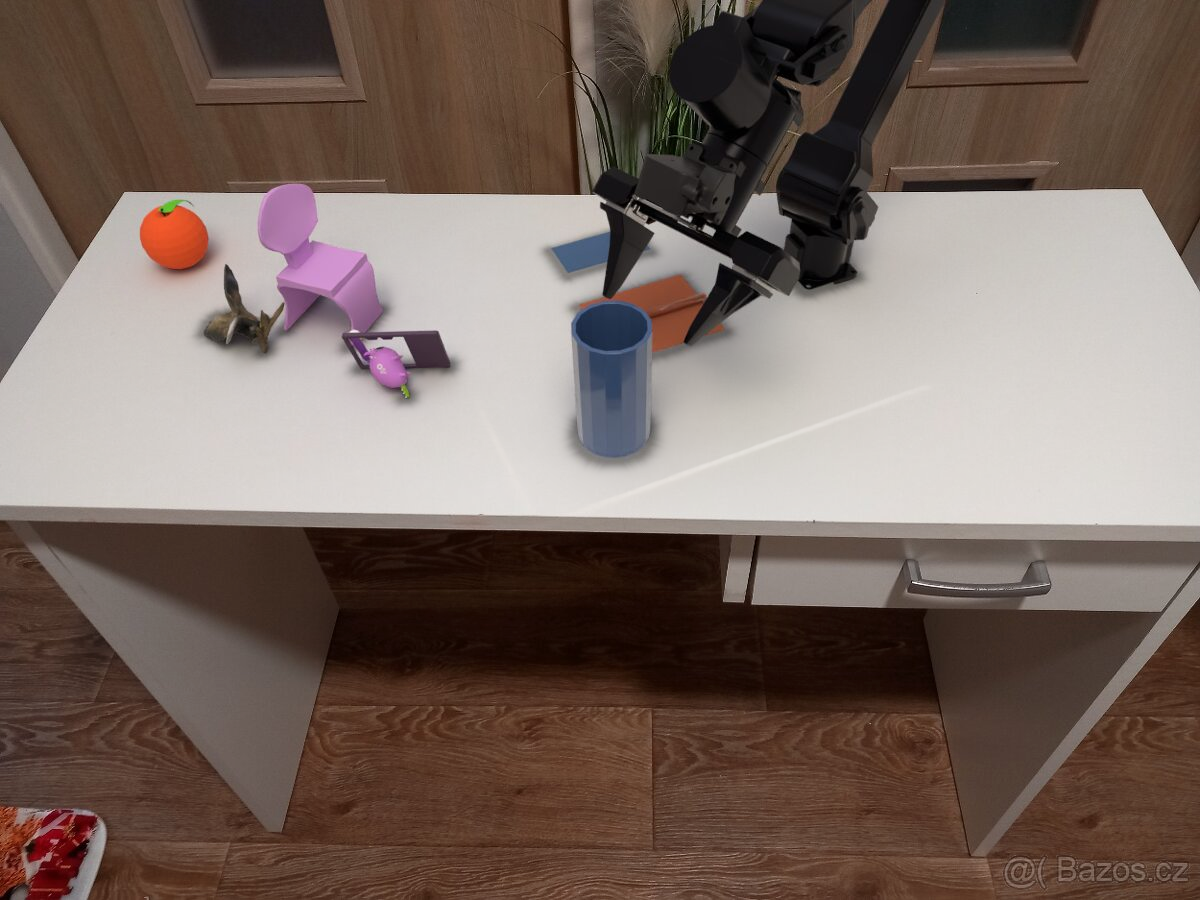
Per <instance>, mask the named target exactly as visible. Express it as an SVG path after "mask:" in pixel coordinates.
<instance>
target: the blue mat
mask: <svg viewBox="0 0 1200 900" xmlns="http://www.w3.org/2000/svg"><path fill="white" fill-rule="evenodd" d="M609 244H610V231H607V232H604V233H600V234H597V235H593V236H590V237H587V238H586V237H585V238H582V239H578V240H575V241H572V242H568V243H564V244H561V245H558V246H554V247H551V250H552V252H553V253H554V255H555V256H556V258H557V259H558V260H559V262H560V264H561V265H562V266H563V268H564V270H565V271H566V272H567V273H568V274H569V273H574V272H576V271H580V270H585V269H587V268H590V267H594V266H597V265H600V264H605V263H607V260H608V253H609ZM649 250H651V247H650V246H649V244H648V245H647V247H646V248H645V250H644V251H643V252H645V251H649Z"/></svg>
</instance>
